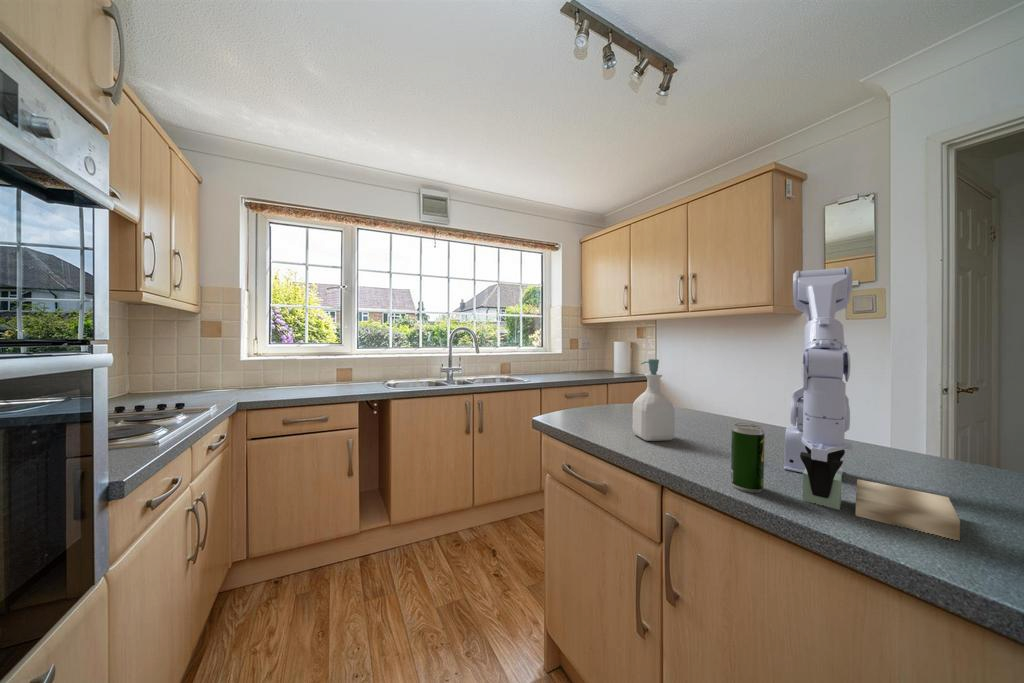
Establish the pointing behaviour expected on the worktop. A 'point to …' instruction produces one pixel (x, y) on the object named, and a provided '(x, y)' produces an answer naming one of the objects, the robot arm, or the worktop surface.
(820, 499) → the sage cube
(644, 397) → the soap bottle
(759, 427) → the green soda can
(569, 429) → the worktop surface
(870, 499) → the birch plinth
